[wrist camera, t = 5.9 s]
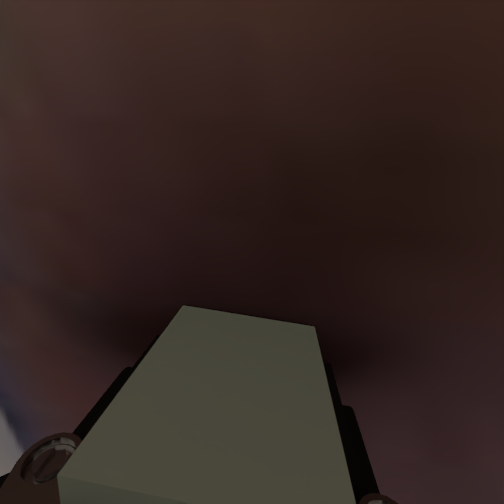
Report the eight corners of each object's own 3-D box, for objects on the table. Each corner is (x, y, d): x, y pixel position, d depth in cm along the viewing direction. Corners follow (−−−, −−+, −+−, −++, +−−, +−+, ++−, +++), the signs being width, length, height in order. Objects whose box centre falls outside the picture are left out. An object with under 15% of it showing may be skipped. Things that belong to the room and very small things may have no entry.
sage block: (183, 305, 10) (56, 474, 4) (314, 326, 10) (363, 538, 4) (177, 407, 12) (77, 637, 6) (292, 429, 11) (304, 693, 6)
